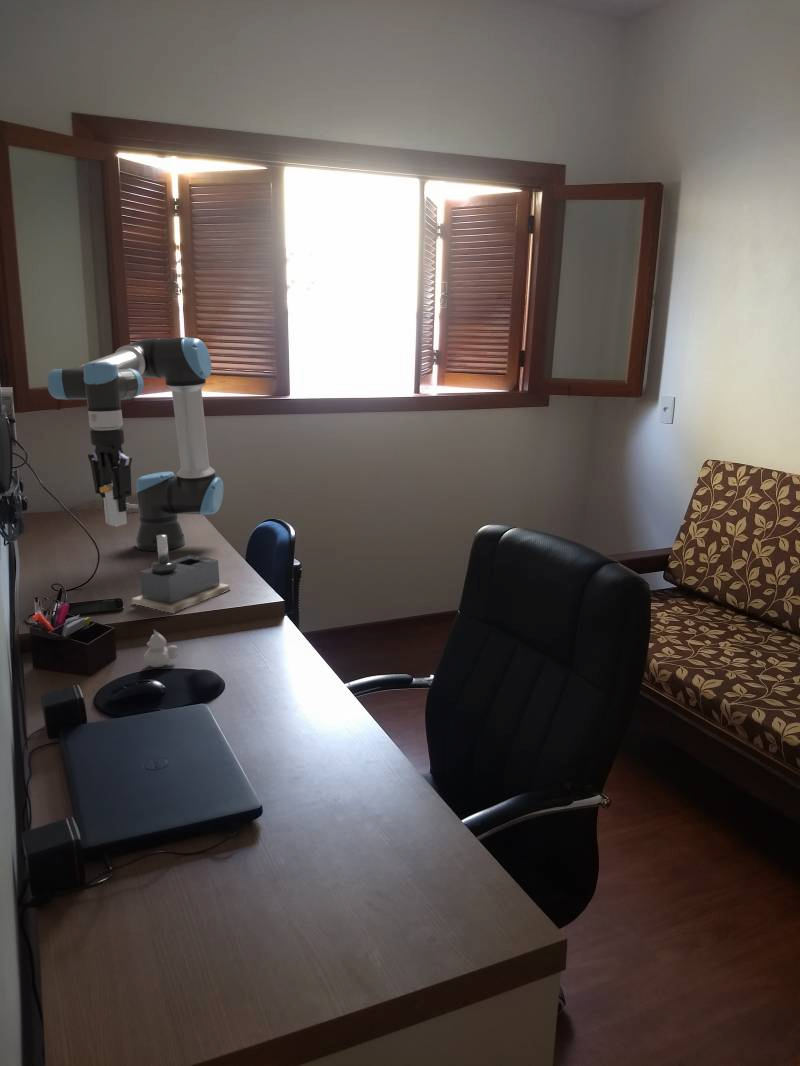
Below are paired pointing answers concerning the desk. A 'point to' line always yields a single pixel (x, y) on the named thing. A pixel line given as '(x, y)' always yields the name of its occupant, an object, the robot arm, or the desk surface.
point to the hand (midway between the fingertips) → (116, 523)
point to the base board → (182, 603)
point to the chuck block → (177, 576)
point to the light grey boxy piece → (109, 502)
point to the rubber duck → (159, 651)
